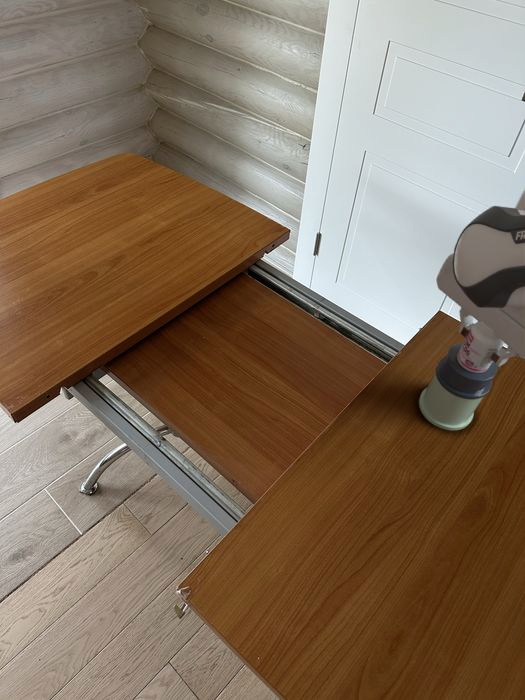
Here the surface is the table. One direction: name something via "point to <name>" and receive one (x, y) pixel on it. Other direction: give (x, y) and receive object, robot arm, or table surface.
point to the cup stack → (454, 392)
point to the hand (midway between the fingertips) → (480, 347)
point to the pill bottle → (479, 348)
